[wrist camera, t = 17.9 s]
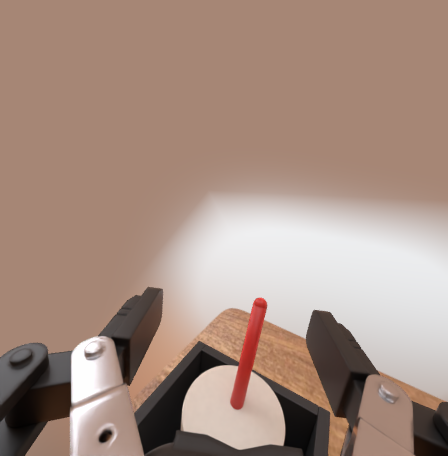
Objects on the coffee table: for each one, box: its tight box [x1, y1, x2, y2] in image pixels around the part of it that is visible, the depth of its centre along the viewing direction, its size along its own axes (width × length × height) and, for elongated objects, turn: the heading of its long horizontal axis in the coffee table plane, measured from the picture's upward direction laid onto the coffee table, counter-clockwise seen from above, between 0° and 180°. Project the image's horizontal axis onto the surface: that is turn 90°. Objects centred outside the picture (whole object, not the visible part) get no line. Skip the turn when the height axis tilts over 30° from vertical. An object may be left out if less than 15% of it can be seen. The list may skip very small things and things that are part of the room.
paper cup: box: [181, 298, 285, 450], centre depth 13 cm, size 6×6×16 cm
